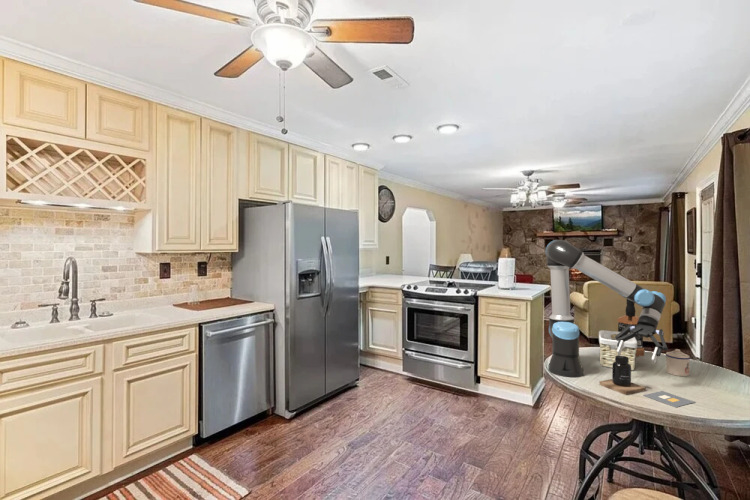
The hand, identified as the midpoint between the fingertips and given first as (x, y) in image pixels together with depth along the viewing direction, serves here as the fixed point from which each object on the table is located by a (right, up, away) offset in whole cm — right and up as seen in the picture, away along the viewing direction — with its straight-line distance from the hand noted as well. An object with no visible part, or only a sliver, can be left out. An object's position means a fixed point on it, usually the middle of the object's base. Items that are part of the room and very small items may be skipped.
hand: (635, 357), depth 167 cm
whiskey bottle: (+27, -11, +43) cm, 52 cm away
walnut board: (-10, -12, -6) cm, 16 cm away
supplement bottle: (-10, -10, -6) cm, 15 cm away
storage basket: (+9, -11, +27) cm, 31 cm away
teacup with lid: (+29, -11, +12) cm, 34 cm away
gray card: (+1, -12, -18) cm, 21 cm away
